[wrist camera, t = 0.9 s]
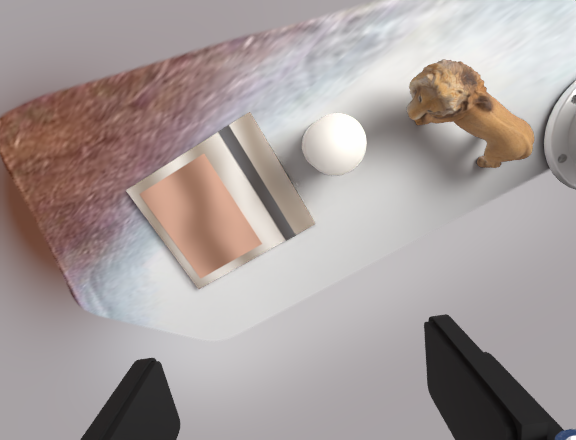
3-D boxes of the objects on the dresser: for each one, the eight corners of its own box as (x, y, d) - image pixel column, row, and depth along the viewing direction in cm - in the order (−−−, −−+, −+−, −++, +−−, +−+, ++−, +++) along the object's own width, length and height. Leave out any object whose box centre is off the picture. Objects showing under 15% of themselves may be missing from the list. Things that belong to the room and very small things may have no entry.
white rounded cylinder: (336, 109, 29) (349, 100, 23) (359, 153, 30) (376, 156, 24) (292, 135, 30) (294, 134, 24) (316, 178, 31) (324, 186, 25)
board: (250, 112, 29) (249, 111, 28) (314, 222, 32) (315, 224, 31) (129, 189, 31) (125, 190, 30) (200, 286, 34) (198, 289, 33)
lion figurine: (373, 119, 29) (410, 109, 21) (398, 65, 28) (449, 30, 19) (497, 176, 31) (581, 190, 22) (527, 128, 30) (627, 121, 21)
